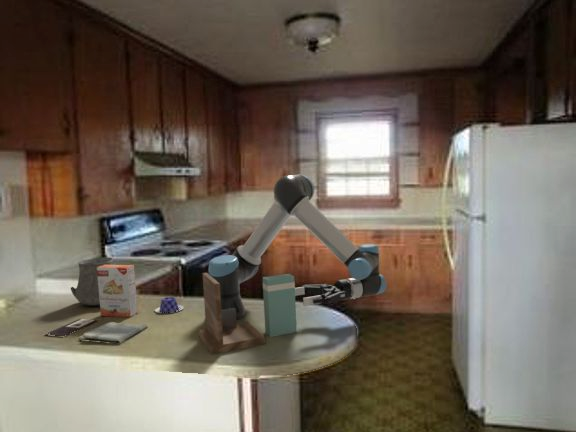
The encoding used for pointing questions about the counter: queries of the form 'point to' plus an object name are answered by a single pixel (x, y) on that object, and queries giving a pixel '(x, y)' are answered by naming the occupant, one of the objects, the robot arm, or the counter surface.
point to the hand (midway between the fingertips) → (295, 297)
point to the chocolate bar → (72, 327)
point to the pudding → (168, 305)
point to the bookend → (229, 318)
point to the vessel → (89, 281)
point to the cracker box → (117, 290)
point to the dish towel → (113, 332)
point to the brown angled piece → (213, 333)
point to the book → (279, 304)
